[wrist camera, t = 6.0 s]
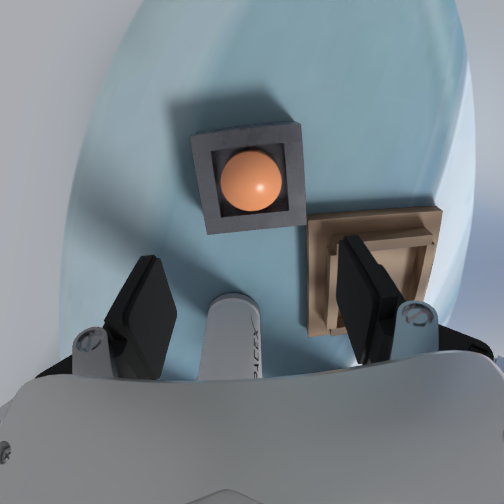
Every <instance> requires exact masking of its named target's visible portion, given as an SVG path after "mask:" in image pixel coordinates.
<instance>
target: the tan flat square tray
mask: <svg viewBox="0 0 504 504" xmlns="http://www.w3.org/2000/svg"><path fill="white" fill-rule="evenodd" d="M442 213H443V211H442V210H441V209H439V208H438V207H437V206H426V207H407V208H390V209H375V210H360V211H347V212H334V213H322V214H310V215H306V220H307V225H306V242H307V332H308V337H313V336H320V335H328V334H330V335H331V336H335V335H341V334H348V333H347V330H346V327H345V324H344V321H343V319H342V316H341V313H340V310H339V308H338V305H337V301H336V285H337V269H338V247H339V240H343V237H344V236H349V235H359V237H360V238H361V240H362V241H363V242H364V244H365V245H366V247H367V248H368V250H369V251H370V252H371V254H372V255H373V257H374V258H375V260H376V261H377V263H378V264H381V265H383V267H384V268H385V269H386V271H387V272H388V274H389V275H390V277H391V278H392V280H393V281H394V283H395V285H396V286H397V288H398V289H399V291H400V292H401V294H402V295H403V297H404V299H405V300H406V301H411V300H417V301H422V302H423V300H424V296H425V293H426V289H427V286H428V282H429V278H430V274H431V270H432V265H433V261H434V257H435V252H436V247H437V242H438V237H439V231H440V225H441V219H442Z"/></svg>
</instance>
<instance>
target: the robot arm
mask: <svg viewBox="0 0 504 504" xmlns="http://www.w3.org/2000/svg"><path fill="white" fill-rule="evenodd" d="M336 301H337V305H338V308H339V310H340V313H341V316H342V319H343V321H344V324H345V327H346V330H347V333H348V336H349V339H350V342H351V345H352V348H353V351H354V354H355V357H356V360H357V362H358V364H363V365H361V366H355V367H349V368H343V369H337V370H330V371H323V372H316V373H308V374H299V375H290V376H280V377H268V378H255V379H237V380H207V381H174V380H156V379H159V378H160V376H161V372H162V368H163V365H164V361H165V357H166V353H167V350H168V346H169V342H170V339H171V335H172V332H173V328H174V325H175V321H176V318H177V310H176V306H175V303H174V300H173V297H172V294H171V291H170V288H169V285H168V282H167V279H166V276H165V272H164V269H163V266H162V263H161V260H160V258H156V256H155V255H148V256H141V257H140V258H139V260H138V262H137V263H136V265H135V267H134V268H133V270H132V272H131V273H130V275H129V277H128V278H127V280H126V282H125V284H124V285H123V287H122V289H121V291H120V292H119V294H118V296H117V298H116V299H115V301H114V303H113V305H112V307H111V308H110V310H109V312H108V314H107V316H106V318H105V319H104V322H105V324H104V326H103V328H101V327H91V328H88V329H86V330H84V331H82V332H81V333H80V334H79V335H78V336H77V337H76V338H75V340H74V342H73V346H72V355H70V356H69V357H67V358H65V359H64V360H62V361H60V362H59V363H57V364H55V365H54V366H52V367H50V368H49V369H47V370H45V371H44V372H42V373H40V374H39V375H38V376H36V378H35V379H33V380H31V381H29V382H27V383H25V384H24V385H23V386H22V387H21V388H20V390H19V391H18V392H17V393H16V395H15V397H14V398H13V399H12V400H10V401H9V402H7V403H6V404H4V405H3V406H2V407H1V408H0V504H504V358H503V357H501V356H497V358H494V356H493V352H492V350H491V349H490V347H489V346H488V345H487V344H486V343H484V342H482V341H480V340H478V339H475V338H473V337H470V336H468V335H465V334H462V333H460V332H457V331H455V330H452V329H450V328H447V327H445V326H442V325H439V324H438V316H437V312H436V311H435V309H434V308H433V307H431V306H430V305H429V304H427V303H425V302H422V301H417V300H411V301H406V300H405V299H404V297H403V295H402V294H401V292H400V291H399V289H398V288H397V286H396V285H395V283H394V281H393V280H392V278H391V277H390V275H389V274H388V272H387V271H386V269H385V268H384V267H383V265H381V264H378V263H377V261H376V260H375V258H374V257H373V255H372V254H371V252H370V251H369V250H368V248H367V247H366V245H365V244H364V242H363V241H362V240H361V238H360V237H359V235H349V236H344V237H343V240H339V247H338V269H337V285H336Z"/></svg>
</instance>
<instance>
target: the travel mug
mask: <svg viewBox="0 0 504 504" xmlns="http://www.w3.org/2000/svg"><path fill="white" fill-rule="evenodd" d="M255 378H262V364H261V336H260V311H259V307H258V305H257V304H256V303H255V302H254V300H252V299H251V298H249V297H248V296H245V295H243V294H238V293H228V294H224V295H221V296H219V297H217V298H216V299H214V300H213V301H212V303H211V304H210V307H209V311H208V317H207V323H206V329H205V335H204V341H203V347H202V353H201V359H200V366H199V372H198V379H197V381H207V380H237V379H255Z"/></svg>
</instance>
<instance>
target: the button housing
mask: <svg viewBox="0 0 504 504" xmlns="http://www.w3.org/2000/svg"><path fill="white" fill-rule="evenodd" d="M190 141H191V147H192V153H193V159H194V165H195V171H196V177H197V183H198V188H199V194H200V199H201V205H202V210H203V215H204V220H205V226H206V231H207V235H210V234H220V233H229V232H238V231H248V230H258V229H268V228H278V227H289V226H299V225H307V220H306V195H305V176H304V159H303V144H302V131H301V124H300V123H298V122H295V121H291V122H277V123H265V124H254V125H245V126H237V127H229V128H221V129H214V130H208V131H201V132H197V133H195V134H193V135H191V136H190ZM246 148H256V149H260V150H263V151H265V152H266V153H268V154H269V155H270V156H271V157H272V158H273V159H274V160H275V162H276V164H277V166H278V169H279V171H280V174H281V179H282V184H281V190H280V193H279V195H278V197H277V198H276V199H275V201H274V202H273V203H272V204H270V205H269V206H267V207H266V208H263V209H261V210H256V211H246V210H242V209H239V208H237V207H235V206H233V205H232V204H231V203H230V202H229V201H228V200H227V199H226V198H225V196H224V194H223V192H222V189H221V175H222V172H223V170H224V167H225V165H226V163H227V161H228V159H229V158H230V157H231V156H232V155H233V154H234V153H236V152H237V151H240V150H242V149H246Z"/></svg>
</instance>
